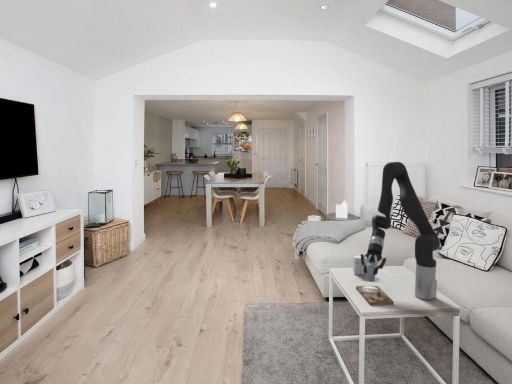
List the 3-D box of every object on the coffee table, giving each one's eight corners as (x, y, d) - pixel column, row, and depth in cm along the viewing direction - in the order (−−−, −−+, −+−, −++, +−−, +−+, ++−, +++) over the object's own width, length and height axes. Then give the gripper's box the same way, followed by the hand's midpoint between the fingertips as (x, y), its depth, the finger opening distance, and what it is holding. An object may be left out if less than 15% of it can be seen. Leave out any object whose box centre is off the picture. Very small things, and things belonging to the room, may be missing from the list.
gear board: (393, 304, 164) (393, 295, 163) (369, 304, 163) (370, 295, 163) (377, 288, 184) (377, 280, 183) (356, 288, 183) (356, 280, 183)
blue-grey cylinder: (375, 279, 178) (376, 263, 177) (373, 282, 174) (374, 265, 173) (367, 278, 180) (367, 262, 179) (365, 280, 177) (365, 264, 176)
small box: (365, 271, 210) (365, 255, 209) (367, 274, 205) (368, 258, 204) (352, 271, 211) (352, 255, 210) (354, 274, 206) (354, 258, 204)
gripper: (361, 240, 185) (355, 267, 176) (388, 244, 178) (383, 273, 169) (363, 247, 190) (357, 274, 182) (390, 251, 183) (384, 279, 174)
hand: (370, 273), depth 175 cm, fingers closed on blue-grey cylinder, 4 cm apart
